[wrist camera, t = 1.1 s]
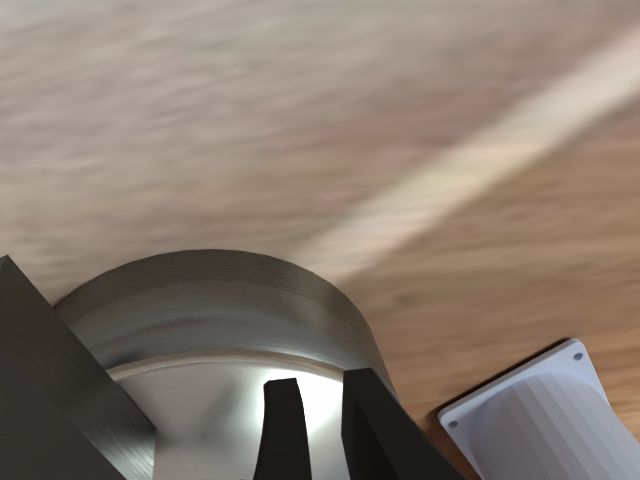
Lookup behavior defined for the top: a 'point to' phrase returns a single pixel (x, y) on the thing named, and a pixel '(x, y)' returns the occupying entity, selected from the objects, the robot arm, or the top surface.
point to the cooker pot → (218, 311)
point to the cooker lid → (143, 404)
